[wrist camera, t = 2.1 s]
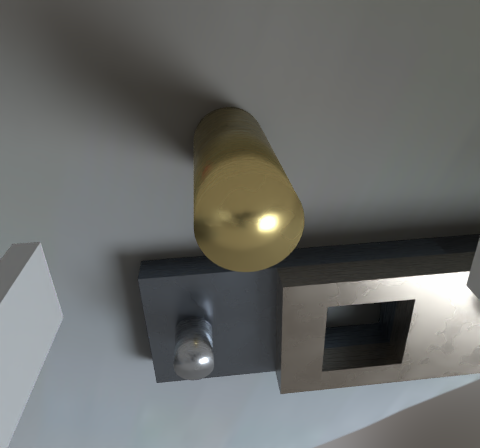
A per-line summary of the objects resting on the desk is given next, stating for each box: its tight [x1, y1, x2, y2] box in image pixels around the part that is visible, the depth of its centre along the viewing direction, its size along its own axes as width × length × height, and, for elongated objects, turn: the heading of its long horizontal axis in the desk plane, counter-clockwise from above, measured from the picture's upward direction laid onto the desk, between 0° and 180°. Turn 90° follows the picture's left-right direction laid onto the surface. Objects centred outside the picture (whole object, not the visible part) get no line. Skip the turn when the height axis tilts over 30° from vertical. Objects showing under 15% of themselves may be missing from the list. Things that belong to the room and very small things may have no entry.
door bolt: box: [138, 234, 480, 394], centre depth 27 cm, size 26×9×7 cm, turn 92°
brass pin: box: [194, 107, 304, 272], centre depth 19 cm, size 4×4×10 cm
